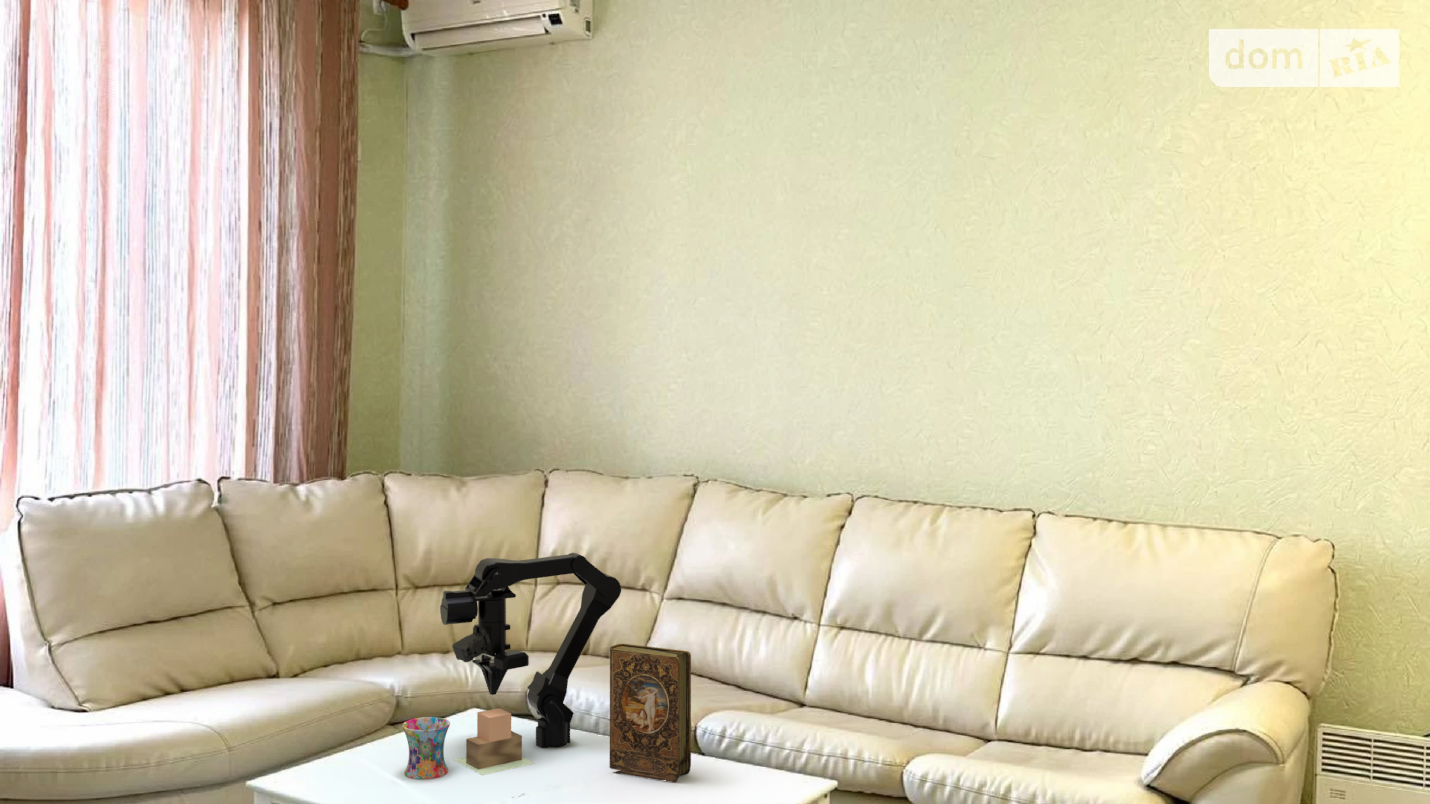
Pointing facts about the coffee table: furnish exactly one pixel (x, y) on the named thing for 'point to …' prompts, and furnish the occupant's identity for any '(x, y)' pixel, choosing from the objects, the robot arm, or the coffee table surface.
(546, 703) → the robot arm
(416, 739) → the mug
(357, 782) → the coffee table surface
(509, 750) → the walnut brick
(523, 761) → the baseplate
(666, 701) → the book
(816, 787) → the coffee table surface
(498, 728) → the cube
